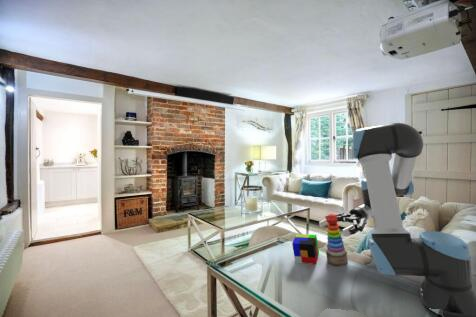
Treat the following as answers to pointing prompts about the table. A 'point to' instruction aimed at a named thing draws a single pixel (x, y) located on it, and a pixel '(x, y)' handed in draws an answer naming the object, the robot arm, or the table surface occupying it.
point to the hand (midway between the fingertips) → (330, 228)
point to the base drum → (337, 259)
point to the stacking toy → (334, 237)
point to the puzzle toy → (305, 248)
